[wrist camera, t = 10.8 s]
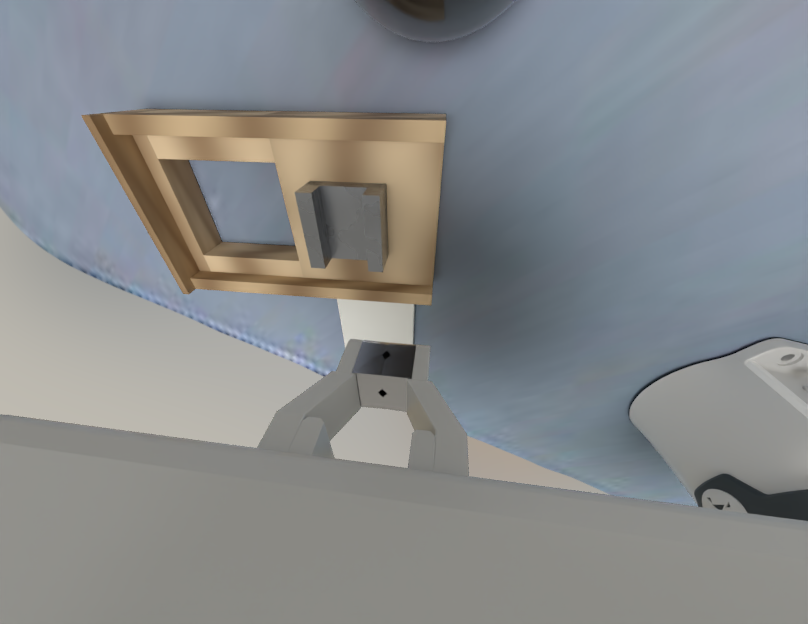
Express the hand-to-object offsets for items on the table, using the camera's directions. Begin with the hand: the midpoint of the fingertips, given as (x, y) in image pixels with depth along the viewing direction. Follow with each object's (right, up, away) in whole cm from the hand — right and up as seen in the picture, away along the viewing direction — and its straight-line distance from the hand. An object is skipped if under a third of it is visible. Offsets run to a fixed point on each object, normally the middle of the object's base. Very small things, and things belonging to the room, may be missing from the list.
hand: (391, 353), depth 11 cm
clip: (-3, +8, +9) cm, 13 cm away
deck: (-7, +10, +11) cm, 17 cm away
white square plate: (-2, +1, +18) cm, 18 cm away
